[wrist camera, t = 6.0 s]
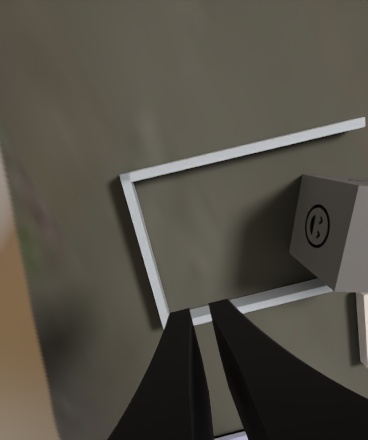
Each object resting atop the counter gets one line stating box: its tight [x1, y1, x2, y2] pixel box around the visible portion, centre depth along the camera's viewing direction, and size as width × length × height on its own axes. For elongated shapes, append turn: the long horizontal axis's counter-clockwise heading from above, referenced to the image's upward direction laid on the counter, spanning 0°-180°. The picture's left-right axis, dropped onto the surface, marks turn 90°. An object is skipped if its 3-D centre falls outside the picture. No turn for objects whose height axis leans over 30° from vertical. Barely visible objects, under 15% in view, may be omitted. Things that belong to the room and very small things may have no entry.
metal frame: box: [119, 117, 365, 329], centre depth 17 cm, size 10×14×1 cm
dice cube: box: [289, 174, 368, 293], centre depth 15 cm, size 5×5×5 cm
